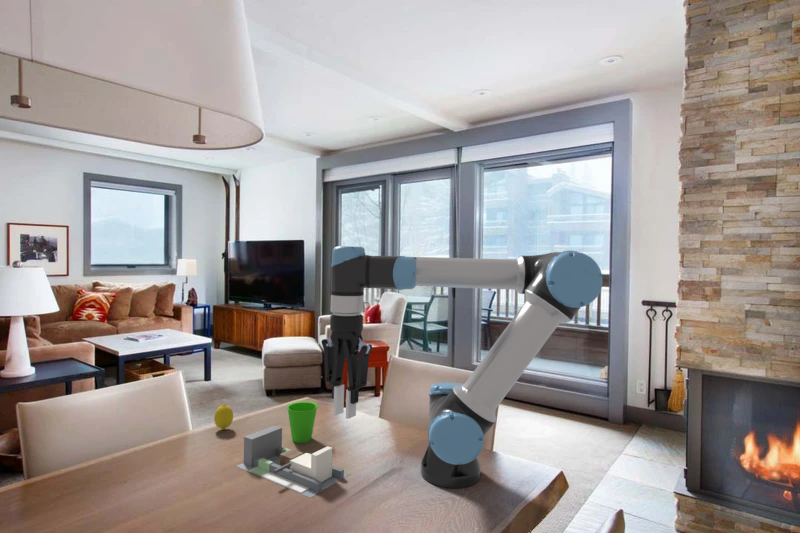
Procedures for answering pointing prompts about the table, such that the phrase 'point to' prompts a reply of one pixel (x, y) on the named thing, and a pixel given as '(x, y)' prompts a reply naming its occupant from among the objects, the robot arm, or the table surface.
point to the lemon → (223, 417)
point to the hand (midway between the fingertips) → (344, 414)
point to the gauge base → (265, 459)
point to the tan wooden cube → (289, 456)
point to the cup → (302, 420)
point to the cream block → (312, 464)
